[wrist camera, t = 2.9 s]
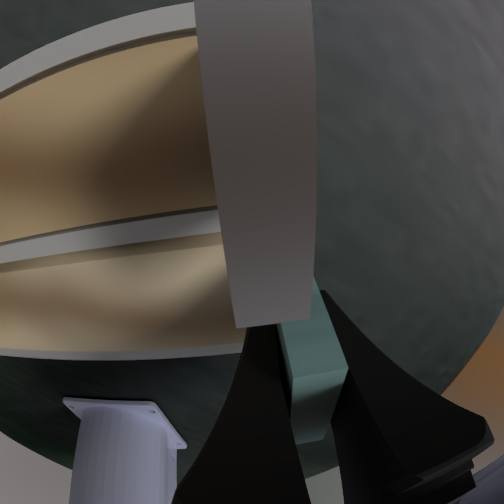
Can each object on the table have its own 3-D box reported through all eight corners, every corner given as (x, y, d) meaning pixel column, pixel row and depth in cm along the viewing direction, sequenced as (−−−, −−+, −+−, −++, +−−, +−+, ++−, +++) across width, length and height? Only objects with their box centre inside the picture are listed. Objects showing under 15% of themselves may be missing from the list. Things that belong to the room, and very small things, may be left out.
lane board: (288, 321, 15) (294, 345, 14) (-39, 334, 14) (-46, 348, 13) (278, 6, 7) (288, -4, 6) (-116, 174, 6) (-129, 184, 5)
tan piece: (290, 315, 14) (322, 440, 9) (-37, 330, 13) (-69, 399, 8) (291, 218, 11) (349, 362, 6) (-73, 273, 10) (-118, 342, 5)
